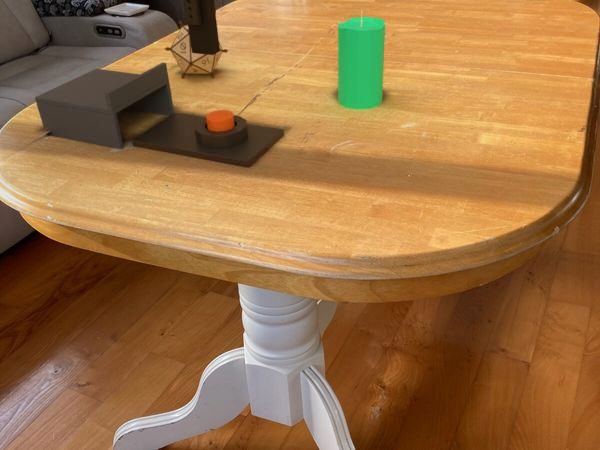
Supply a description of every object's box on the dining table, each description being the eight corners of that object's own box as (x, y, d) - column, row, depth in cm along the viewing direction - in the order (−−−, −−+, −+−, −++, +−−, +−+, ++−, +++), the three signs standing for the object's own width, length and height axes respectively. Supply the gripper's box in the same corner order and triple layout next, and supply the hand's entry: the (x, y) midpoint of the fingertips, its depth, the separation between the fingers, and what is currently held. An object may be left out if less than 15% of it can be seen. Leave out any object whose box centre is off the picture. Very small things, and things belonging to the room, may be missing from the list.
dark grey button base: (132, 146, 71) (128, 127, 69) (175, 118, 77) (172, 100, 76) (249, 168, 65) (247, 148, 63) (284, 136, 71) (283, 116, 70)
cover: (45, 135, 74) (29, 81, 70) (104, 103, 83) (92, 53, 79) (121, 150, 70) (108, 93, 66) (174, 115, 78) (166, 62, 74)
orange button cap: (202, 130, 68) (200, 118, 68) (216, 120, 71) (215, 108, 70) (226, 134, 67) (224, 122, 66) (239, 124, 70) (238, 111, 69)
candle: (371, 90, 83) (374, 2, 76) (389, 105, 78) (394, 13, 71) (331, 97, 81) (330, 8, 75) (347, 112, 77) (348, 19, 70)
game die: (213, 94, 94) (244, 39, 92) (198, 94, 86) (232, 33, 84) (166, 64, 94) (195, 8, 92) (146, 61, 86) (178, -1, 83)
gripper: (177, -209, 58) (208, 33, 71) (86, -215, 48) (142, 67, 61) (243, -215, 55) (263, 38, 68) (161, -223, 45) (202, 74, 58)
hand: (206, 51), depth 64 cm, fingers closed
